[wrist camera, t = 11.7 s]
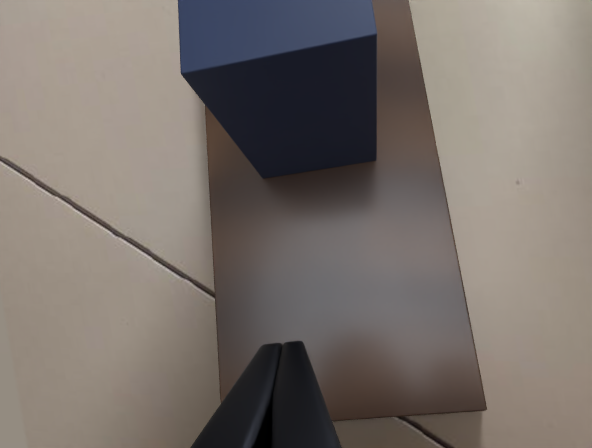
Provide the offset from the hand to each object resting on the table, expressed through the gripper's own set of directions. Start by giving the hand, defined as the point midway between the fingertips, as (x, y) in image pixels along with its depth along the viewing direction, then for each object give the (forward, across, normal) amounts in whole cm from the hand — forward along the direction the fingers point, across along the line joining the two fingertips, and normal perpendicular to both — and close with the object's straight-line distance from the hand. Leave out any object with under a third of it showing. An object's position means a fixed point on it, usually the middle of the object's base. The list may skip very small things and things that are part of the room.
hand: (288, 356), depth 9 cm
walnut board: (+14, 0, +4) cm, 15 cm away
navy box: (+11, 0, -1) cm, 11 cm away
